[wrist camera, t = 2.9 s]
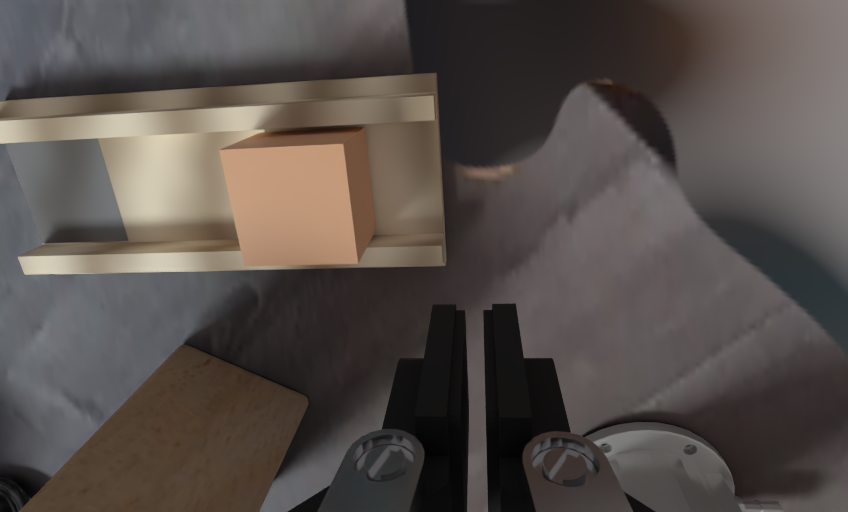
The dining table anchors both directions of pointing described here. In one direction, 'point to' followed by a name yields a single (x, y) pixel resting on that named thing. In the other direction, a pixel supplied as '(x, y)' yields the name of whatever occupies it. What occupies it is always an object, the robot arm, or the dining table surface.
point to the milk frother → (11, 496)
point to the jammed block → (301, 196)
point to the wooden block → (182, 444)
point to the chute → (212, 171)
